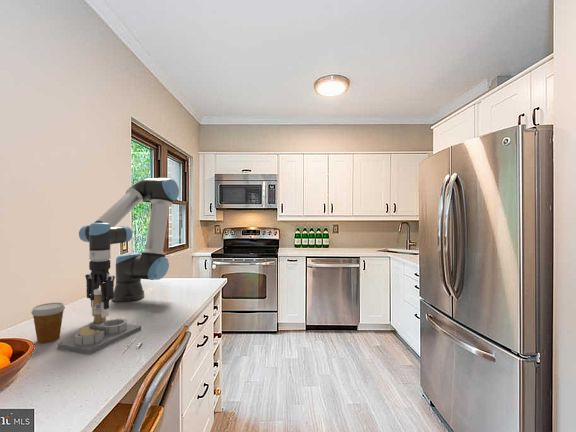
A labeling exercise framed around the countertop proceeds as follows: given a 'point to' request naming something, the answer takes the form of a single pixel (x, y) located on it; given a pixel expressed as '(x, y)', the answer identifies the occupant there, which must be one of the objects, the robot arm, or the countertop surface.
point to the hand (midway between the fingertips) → (100, 315)
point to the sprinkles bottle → (98, 306)
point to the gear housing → (99, 336)
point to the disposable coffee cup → (48, 321)
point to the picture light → (130, 344)
